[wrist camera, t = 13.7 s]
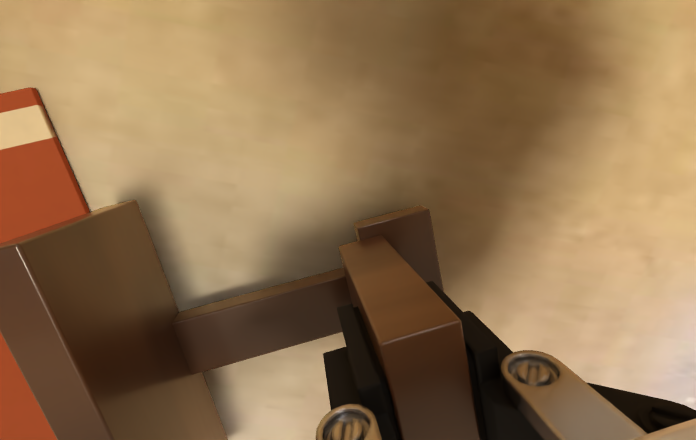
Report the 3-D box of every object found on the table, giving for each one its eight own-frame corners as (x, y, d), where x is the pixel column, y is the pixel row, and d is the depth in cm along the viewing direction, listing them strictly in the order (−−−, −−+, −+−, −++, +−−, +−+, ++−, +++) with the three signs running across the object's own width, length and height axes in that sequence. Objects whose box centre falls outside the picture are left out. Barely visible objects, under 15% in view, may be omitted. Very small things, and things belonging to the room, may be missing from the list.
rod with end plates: (104, 206, 13) (-158, 298, 6) (408, 133, 14) (540, 125, 7) (206, 457, 16) (127, 744, 9) (452, 381, 17) (580, 574, 10)
